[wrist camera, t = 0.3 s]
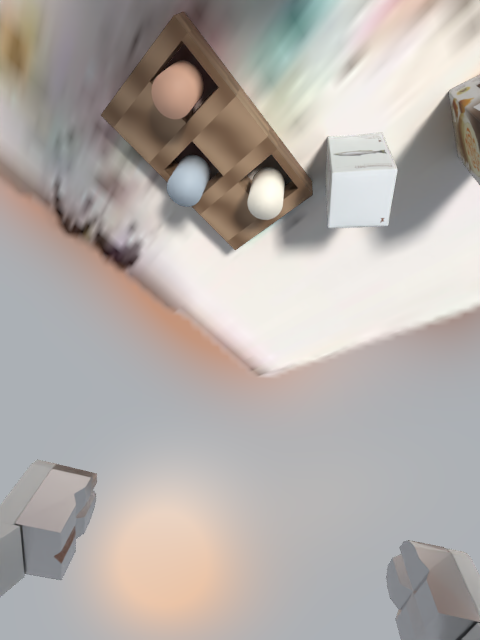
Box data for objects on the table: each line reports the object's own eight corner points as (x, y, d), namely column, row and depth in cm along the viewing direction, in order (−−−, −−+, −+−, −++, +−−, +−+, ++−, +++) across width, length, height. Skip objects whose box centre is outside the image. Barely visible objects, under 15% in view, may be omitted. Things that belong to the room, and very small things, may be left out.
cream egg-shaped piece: (270, 160, 49) (267, 179, 45) (291, 186, 51) (290, 206, 47) (245, 181, 51) (240, 201, 47) (266, 205, 54) (262, 226, 49)
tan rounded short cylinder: (183, 50, 42) (169, 60, 37) (211, 85, 44) (201, 98, 40) (158, 81, 44) (143, 93, 40) (186, 113, 46) (174, 128, 42)
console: (183, 11, 42) (173, 15, 39) (312, 181, 54) (312, 194, 51) (113, 105, 50) (100, 115, 47) (238, 235, 62) (235, 250, 59)
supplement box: (383, 130, 48) (401, 167, 39) (374, 184, 53) (389, 228, 44) (326, 134, 50) (331, 171, 41) (323, 186, 55) (327, 230, 46)
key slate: (193, 147, 49) (182, 164, 45) (216, 173, 51) (209, 192, 47) (171, 169, 52) (159, 187, 47) (195, 193, 54) (185, 213, 49)
